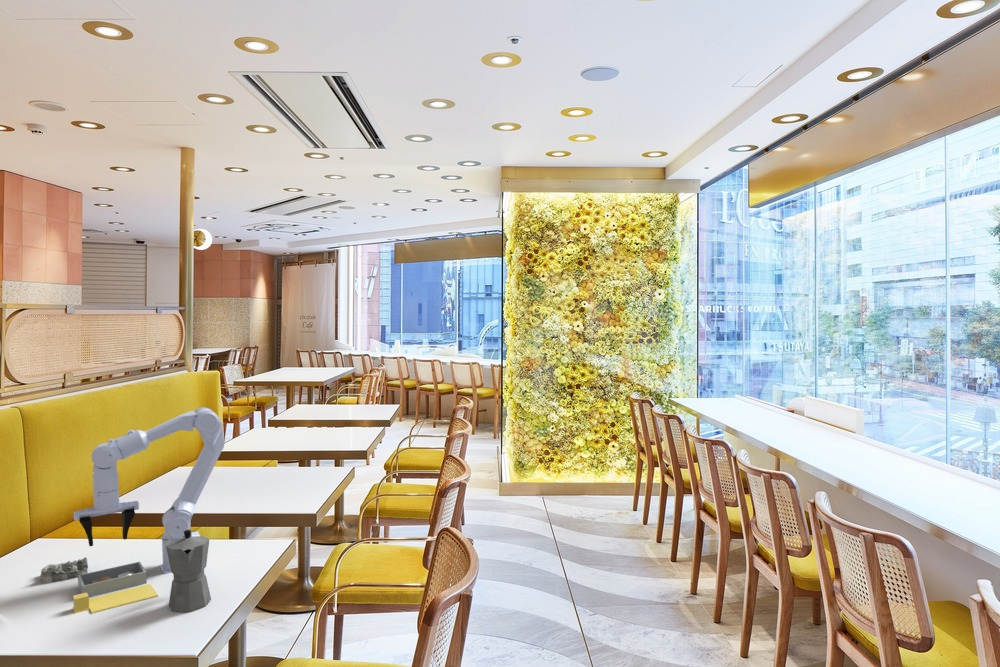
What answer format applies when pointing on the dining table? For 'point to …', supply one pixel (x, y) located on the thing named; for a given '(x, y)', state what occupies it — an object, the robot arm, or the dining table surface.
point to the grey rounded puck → (125, 573)
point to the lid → (112, 599)
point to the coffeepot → (188, 573)
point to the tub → (113, 583)
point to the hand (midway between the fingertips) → (108, 541)
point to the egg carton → (64, 570)
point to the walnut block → (100, 579)
